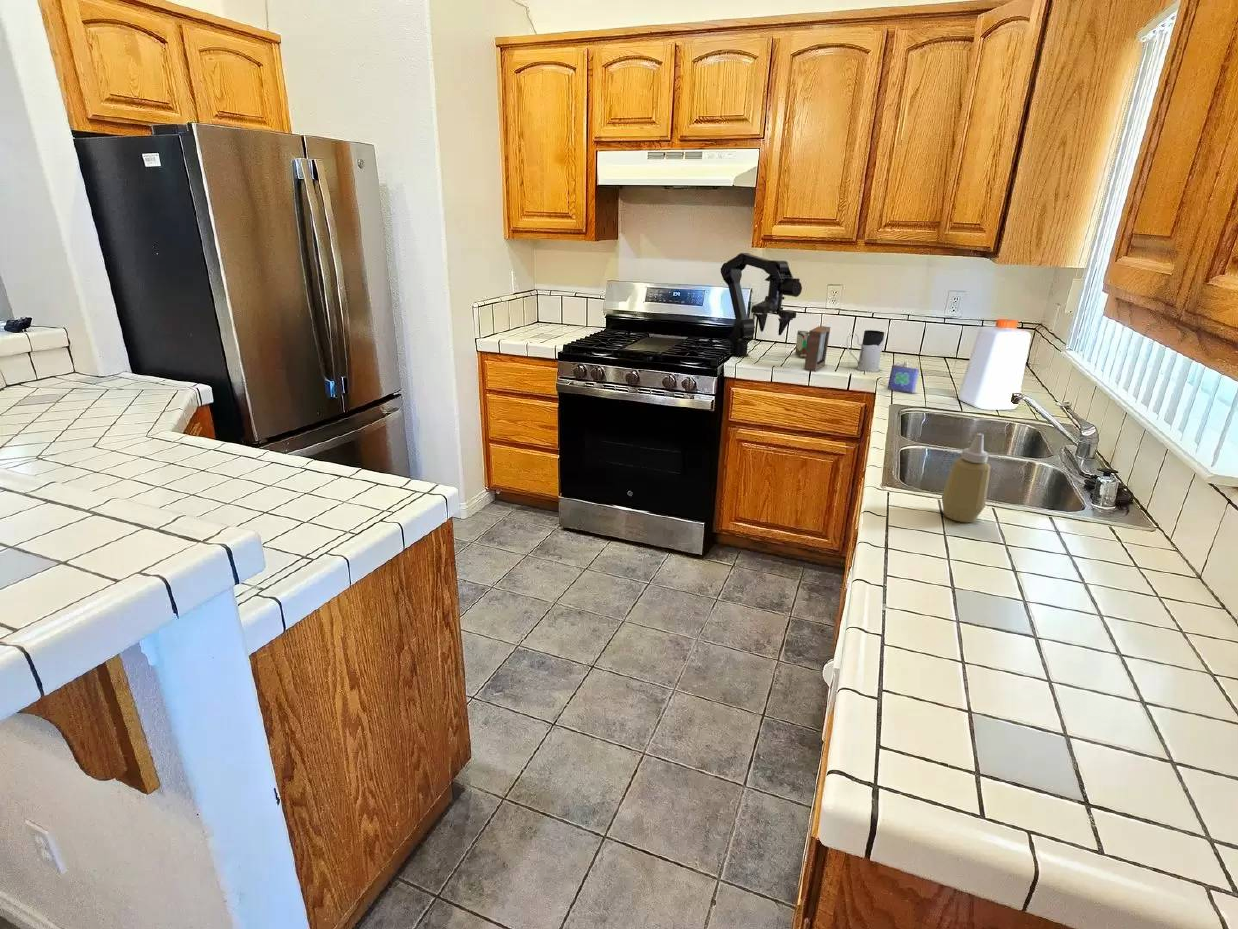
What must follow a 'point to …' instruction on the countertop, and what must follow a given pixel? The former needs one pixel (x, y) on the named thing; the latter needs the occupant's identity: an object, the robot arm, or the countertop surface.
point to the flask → (903, 378)
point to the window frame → (817, 348)
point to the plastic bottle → (996, 366)
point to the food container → (801, 343)
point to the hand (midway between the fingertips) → (770, 333)
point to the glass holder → (870, 350)
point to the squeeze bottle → (967, 483)
